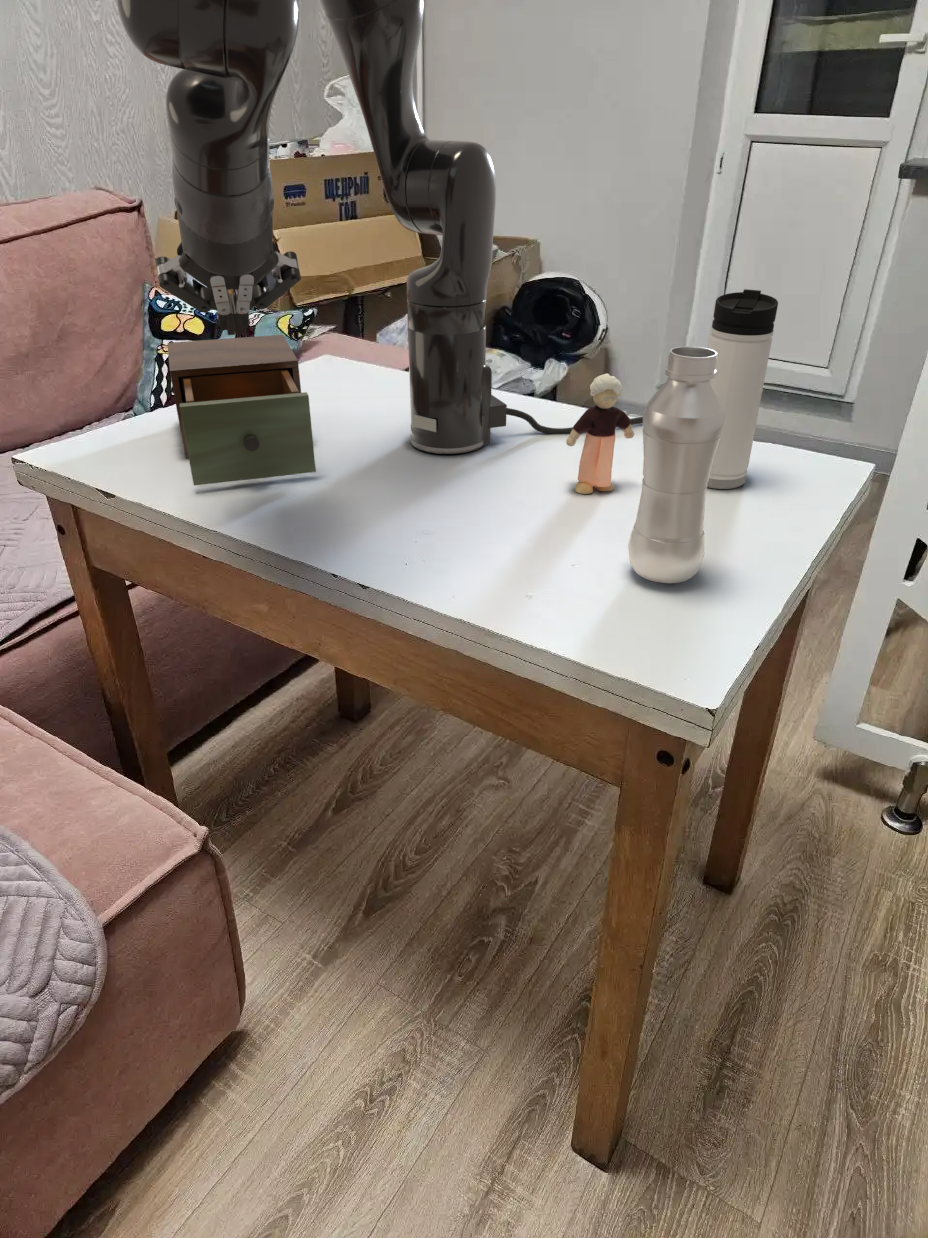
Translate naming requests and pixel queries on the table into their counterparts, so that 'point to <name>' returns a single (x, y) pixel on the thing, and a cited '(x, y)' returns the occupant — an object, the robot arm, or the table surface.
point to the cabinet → (227, 361)
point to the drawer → (246, 426)
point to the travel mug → (739, 377)
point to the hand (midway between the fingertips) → (233, 326)
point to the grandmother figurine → (599, 435)
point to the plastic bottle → (677, 468)
